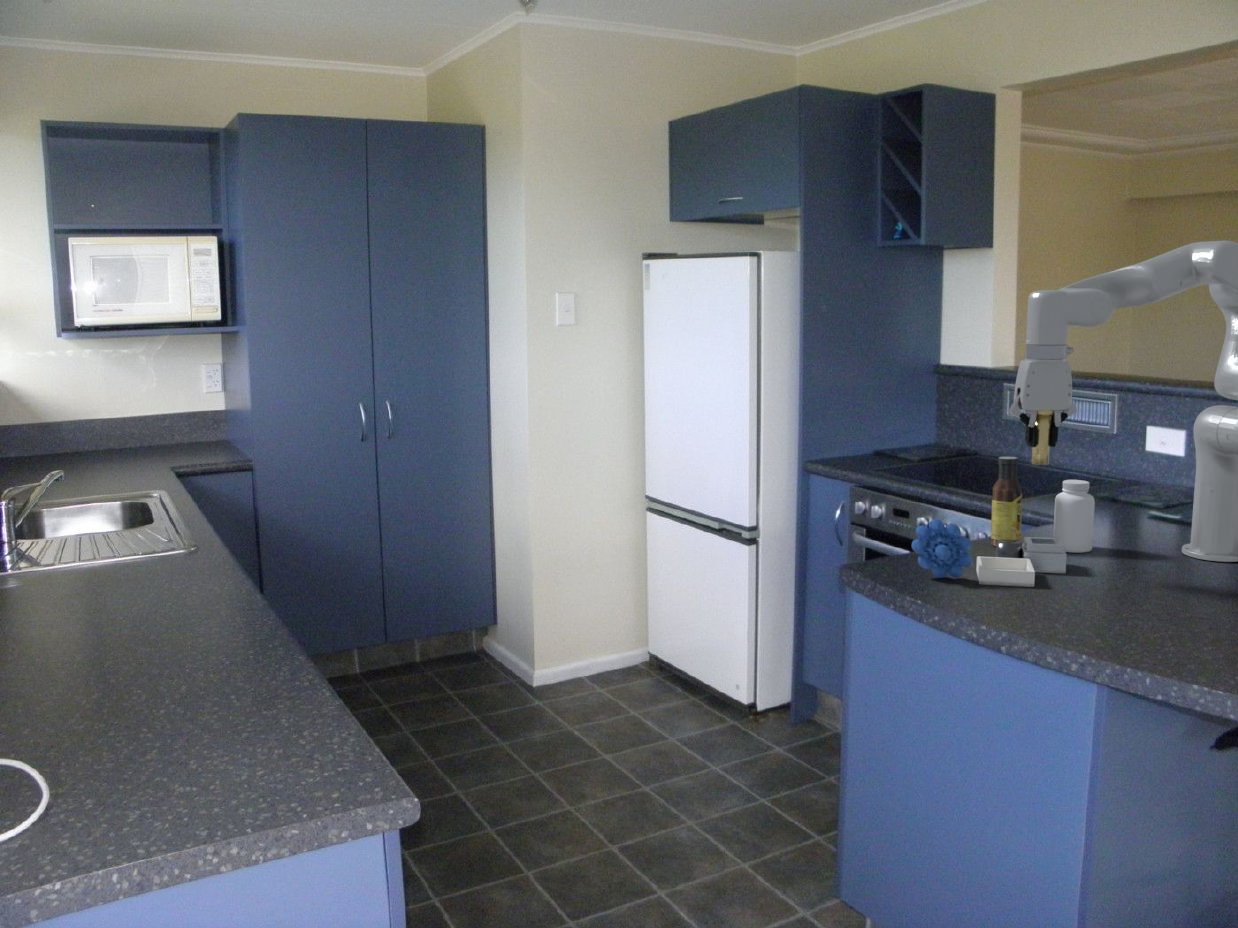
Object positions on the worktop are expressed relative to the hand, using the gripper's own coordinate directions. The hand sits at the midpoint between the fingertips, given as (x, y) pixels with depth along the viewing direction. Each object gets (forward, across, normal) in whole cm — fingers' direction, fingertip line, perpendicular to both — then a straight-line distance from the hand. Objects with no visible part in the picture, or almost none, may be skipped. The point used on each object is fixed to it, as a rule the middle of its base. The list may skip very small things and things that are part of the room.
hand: (1040, 445), depth 210 cm
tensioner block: (+26, 0, -2) cm, 26 cm away
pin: (+4, 0, 0) cm, 4 cm away
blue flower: (+26, +21, +5) cm, 34 cm away
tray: (+26, +8, +6) cm, 28 cm away
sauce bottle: (+26, -2, -19) cm, 32 cm away
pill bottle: (+26, -15, -15) cm, 33 cm away
